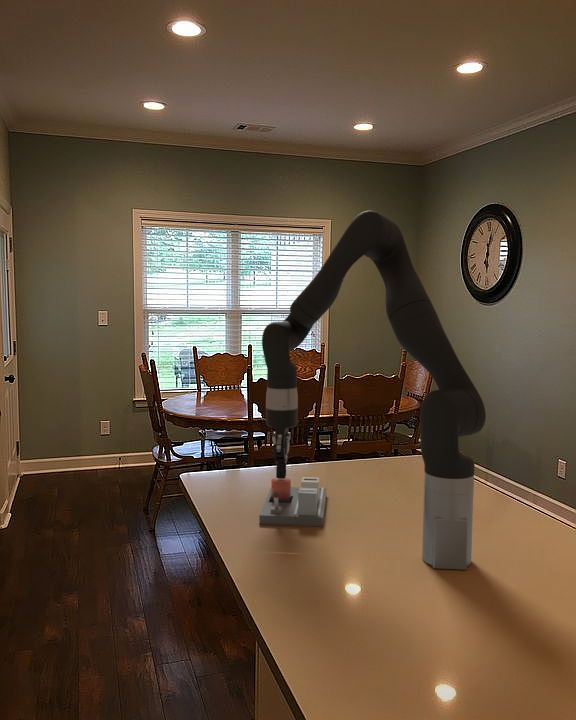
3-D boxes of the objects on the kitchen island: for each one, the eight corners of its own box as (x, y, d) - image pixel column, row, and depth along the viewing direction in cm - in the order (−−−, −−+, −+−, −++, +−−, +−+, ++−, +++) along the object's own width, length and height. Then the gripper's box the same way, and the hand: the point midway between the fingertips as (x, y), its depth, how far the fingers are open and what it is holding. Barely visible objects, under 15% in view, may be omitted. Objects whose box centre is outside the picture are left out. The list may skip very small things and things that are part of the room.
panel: (322, 526, 141) (322, 495, 140) (259, 524, 142) (259, 492, 142) (326, 496, 163) (326, 468, 162) (271, 494, 164) (271, 466, 164)
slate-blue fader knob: (316, 515, 142) (316, 492, 142) (298, 515, 142) (298, 492, 142) (317, 509, 146) (317, 487, 146) (299, 509, 146) (299, 486, 146)
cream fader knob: (318, 503, 151) (318, 481, 150) (301, 502, 151) (301, 480, 151) (318, 498, 155) (319, 476, 154) (302, 497, 155) (302, 476, 155)
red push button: (289, 500, 151) (289, 482, 151) (270, 499, 152) (270, 482, 151) (291, 494, 156) (291, 477, 155) (272, 493, 156) (272, 476, 156)
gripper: (295, 411, 145) (294, 486, 147) (299, 401, 158) (299, 470, 160) (262, 410, 146) (261, 485, 147) (269, 401, 159) (269, 469, 160)
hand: (281, 477), depth 154 cm, fingers closed
